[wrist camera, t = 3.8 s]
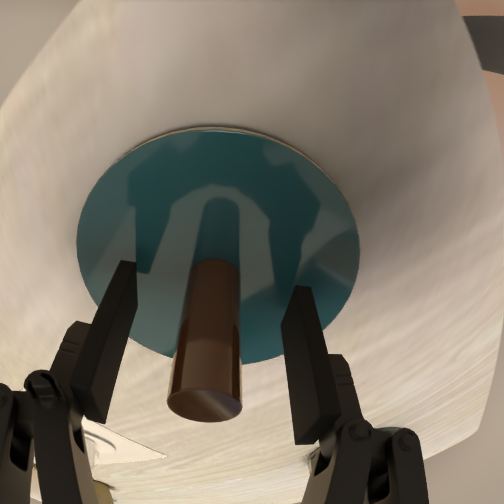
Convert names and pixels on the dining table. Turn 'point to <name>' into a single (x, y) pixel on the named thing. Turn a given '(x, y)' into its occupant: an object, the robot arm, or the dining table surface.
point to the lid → (217, 253)
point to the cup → (35, 486)
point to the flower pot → (103, 493)
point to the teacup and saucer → (112, 446)
